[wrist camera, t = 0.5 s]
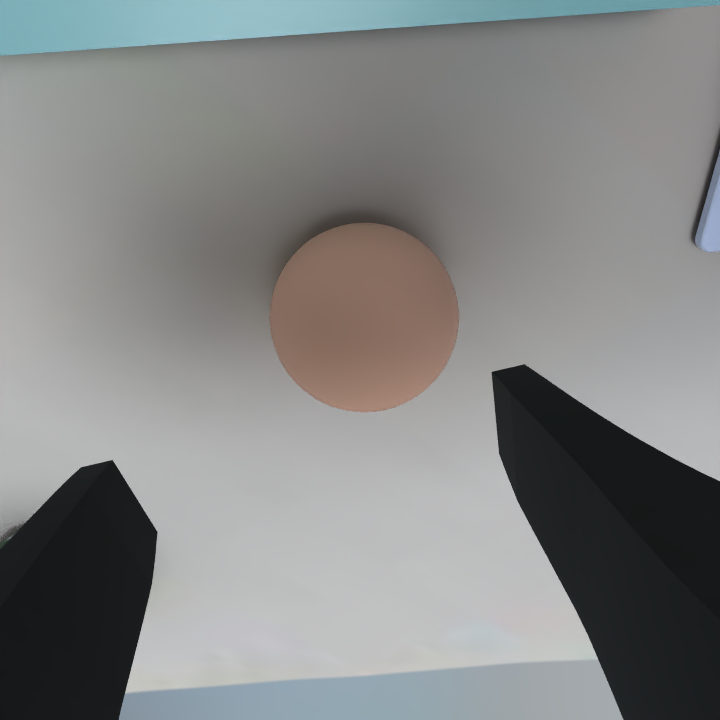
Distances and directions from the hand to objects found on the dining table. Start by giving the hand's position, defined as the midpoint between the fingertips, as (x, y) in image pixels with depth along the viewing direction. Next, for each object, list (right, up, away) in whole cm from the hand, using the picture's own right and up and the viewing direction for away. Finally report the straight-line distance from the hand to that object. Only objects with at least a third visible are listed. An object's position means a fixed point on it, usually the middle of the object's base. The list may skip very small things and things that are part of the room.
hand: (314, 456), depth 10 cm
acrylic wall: (-1, +11, +4) cm, 12 cm away
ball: (+1, +5, +8) cm, 10 cm away
